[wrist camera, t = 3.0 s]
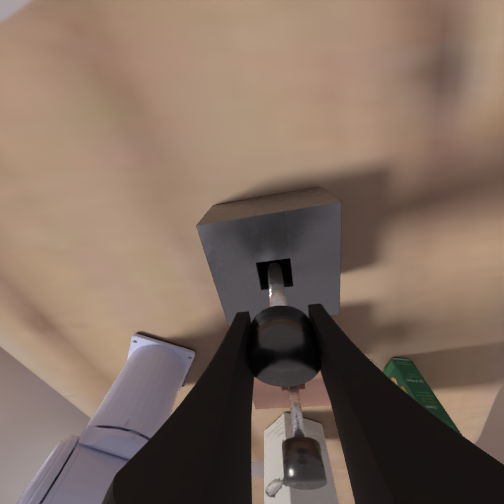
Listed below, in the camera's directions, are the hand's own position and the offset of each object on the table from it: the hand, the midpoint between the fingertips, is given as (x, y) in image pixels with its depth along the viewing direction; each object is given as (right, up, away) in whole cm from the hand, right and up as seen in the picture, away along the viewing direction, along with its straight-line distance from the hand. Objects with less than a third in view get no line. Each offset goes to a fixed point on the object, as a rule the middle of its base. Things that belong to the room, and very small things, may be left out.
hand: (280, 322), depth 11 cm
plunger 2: (+3, -9, +10) cm, 14 cm away
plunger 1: (0, +2, +5) cm, 5 cm away
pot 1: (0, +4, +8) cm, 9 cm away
